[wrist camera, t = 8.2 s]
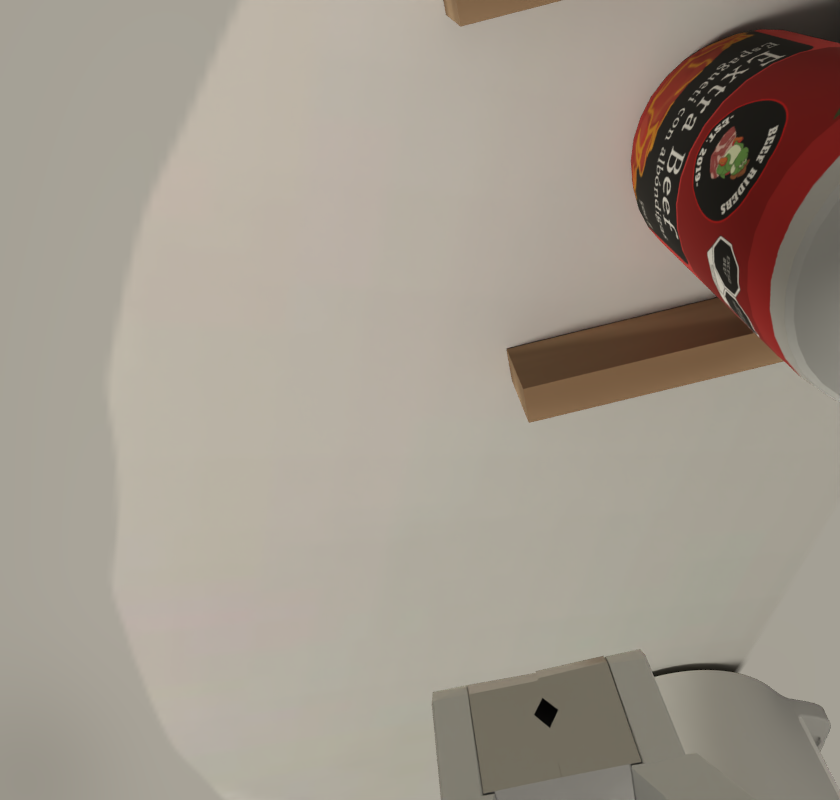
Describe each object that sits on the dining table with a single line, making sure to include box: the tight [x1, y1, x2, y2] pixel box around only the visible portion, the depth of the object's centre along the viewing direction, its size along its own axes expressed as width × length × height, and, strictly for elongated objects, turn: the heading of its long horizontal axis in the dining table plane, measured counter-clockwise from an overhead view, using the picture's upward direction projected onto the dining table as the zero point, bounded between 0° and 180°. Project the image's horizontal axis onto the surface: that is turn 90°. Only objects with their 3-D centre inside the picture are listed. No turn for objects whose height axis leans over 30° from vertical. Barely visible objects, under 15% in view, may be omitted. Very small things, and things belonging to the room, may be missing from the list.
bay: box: [444, 0, 783, 423], centre depth 22 cm, size 20×15×6 cm
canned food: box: [631, 29, 840, 402], centre depth 22 cm, size 8×8×11 cm
